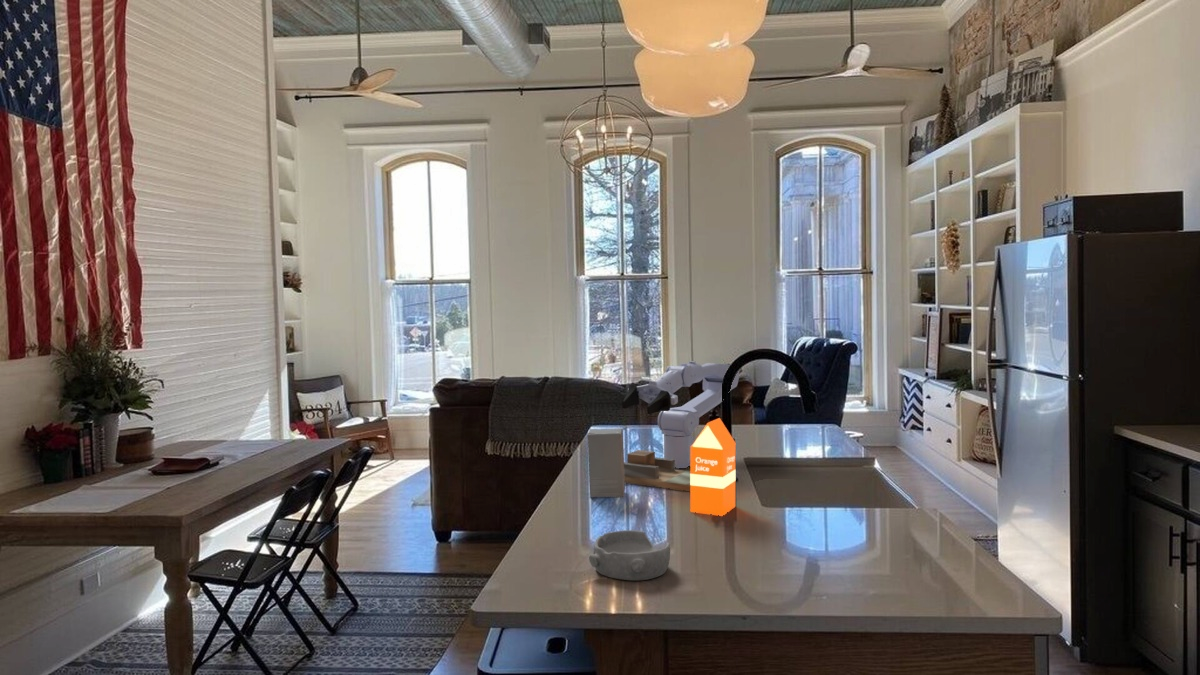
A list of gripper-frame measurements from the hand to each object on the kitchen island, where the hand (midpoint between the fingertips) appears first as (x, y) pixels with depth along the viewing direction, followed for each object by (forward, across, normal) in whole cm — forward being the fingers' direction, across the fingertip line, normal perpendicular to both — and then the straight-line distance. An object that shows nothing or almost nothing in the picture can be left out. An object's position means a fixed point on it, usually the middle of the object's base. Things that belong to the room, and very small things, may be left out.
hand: (635, 407), depth 203 cm
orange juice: (+18, +31, +11) cm, 38 cm away
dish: (+59, +36, -1) cm, 69 cm away
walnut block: (+2, +2, +17) cm, 17 cm away
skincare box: (+22, +5, +13) cm, 26 cm away
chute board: (+2, +7, +18) cm, 20 cm away
